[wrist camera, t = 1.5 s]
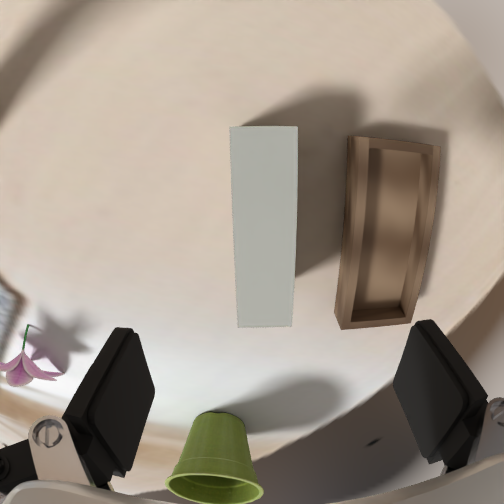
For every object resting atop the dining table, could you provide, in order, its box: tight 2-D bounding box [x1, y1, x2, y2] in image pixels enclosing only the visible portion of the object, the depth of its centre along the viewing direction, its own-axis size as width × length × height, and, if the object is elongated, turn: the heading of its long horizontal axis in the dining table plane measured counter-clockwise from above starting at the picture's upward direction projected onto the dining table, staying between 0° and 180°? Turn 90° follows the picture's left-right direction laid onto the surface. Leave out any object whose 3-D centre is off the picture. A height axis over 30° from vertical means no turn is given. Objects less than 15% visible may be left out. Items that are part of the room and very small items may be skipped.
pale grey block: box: [230, 126, 298, 328], centre depth 23 cm, size 14×4×7 cm, turn 1°
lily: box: [0, 324, 65, 387], centre depth 30 cm, size 12×12×10 cm
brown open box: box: [334, 136, 441, 330], centre depth 25 cm, size 17×8×3 cm, turn 1°
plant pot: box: [165, 412, 264, 504], centre depth 32 cm, size 12×12×11 cm
